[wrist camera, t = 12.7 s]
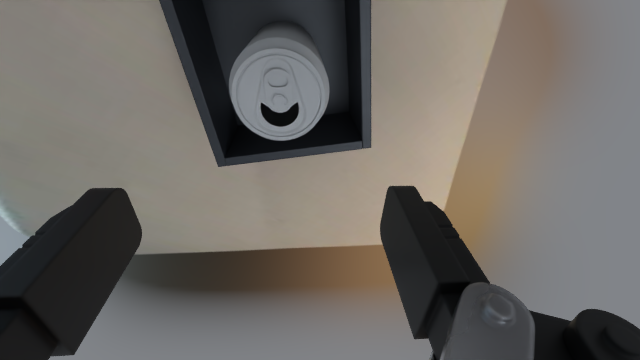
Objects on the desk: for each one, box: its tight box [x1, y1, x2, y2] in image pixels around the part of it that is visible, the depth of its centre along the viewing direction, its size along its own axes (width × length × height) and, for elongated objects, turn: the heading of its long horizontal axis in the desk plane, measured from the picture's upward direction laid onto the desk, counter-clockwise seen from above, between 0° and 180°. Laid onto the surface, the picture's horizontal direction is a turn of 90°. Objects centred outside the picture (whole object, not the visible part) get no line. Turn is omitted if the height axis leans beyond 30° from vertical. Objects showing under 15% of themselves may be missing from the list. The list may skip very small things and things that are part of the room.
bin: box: [159, 0, 371, 167], centre depth 25 cm, size 14×14×8 cm
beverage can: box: [229, 21, 330, 141], centre depth 22 cm, size 6×6×12 cm
